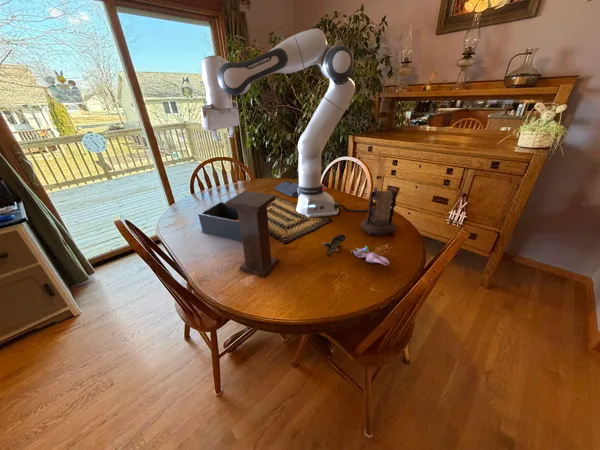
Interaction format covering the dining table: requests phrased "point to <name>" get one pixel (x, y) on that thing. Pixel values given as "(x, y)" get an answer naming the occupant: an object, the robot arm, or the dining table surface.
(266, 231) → the stand
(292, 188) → the dark slate chunk
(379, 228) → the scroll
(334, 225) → the dining table surface
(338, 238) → the grey animal figurine
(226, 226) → the compartment
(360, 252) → the rabbit figure
